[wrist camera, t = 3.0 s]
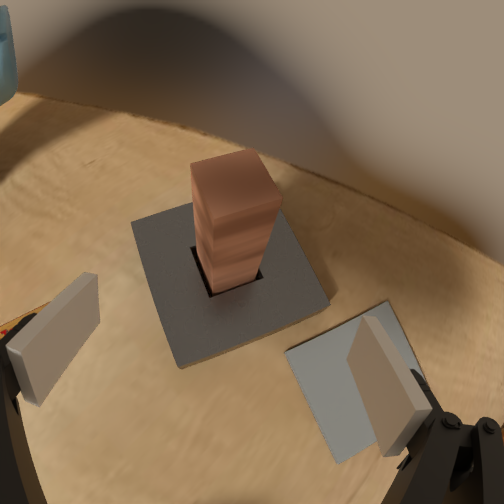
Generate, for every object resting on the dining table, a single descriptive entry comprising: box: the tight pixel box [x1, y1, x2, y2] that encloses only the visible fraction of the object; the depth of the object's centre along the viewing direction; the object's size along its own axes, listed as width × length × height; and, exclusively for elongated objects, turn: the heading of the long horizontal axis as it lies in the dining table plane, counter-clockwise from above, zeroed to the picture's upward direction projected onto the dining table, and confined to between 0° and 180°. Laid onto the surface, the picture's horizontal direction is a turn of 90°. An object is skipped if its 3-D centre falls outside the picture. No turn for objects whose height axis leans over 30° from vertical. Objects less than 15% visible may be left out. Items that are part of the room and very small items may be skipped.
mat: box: [284, 301, 426, 464], centre depth 26 cm, size 12×12×1 cm
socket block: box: [131, 202, 331, 369], centre depth 29 cm, size 14×14×2 cm
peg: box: [190, 148, 283, 297], centre depth 24 cm, size 4×4×14 cm
